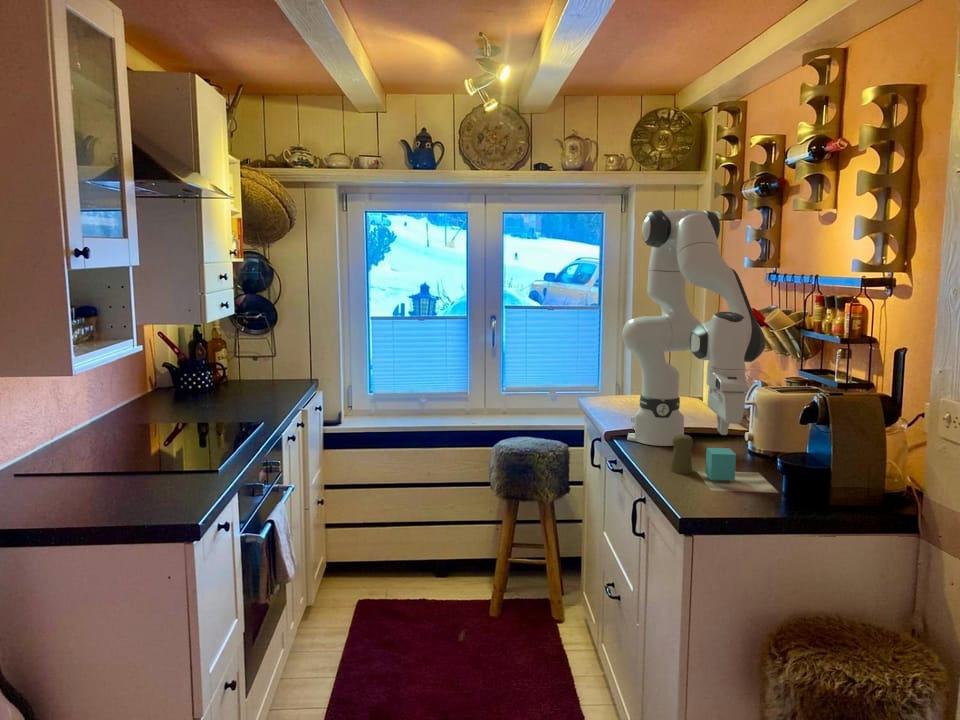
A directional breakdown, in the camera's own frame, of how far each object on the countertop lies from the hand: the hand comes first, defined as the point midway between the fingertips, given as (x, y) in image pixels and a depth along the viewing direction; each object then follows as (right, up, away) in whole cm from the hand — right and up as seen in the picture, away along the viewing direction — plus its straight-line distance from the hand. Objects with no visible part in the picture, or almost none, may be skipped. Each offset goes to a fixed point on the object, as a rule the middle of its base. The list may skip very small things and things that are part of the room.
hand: (722, 433), depth 181 cm
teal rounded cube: (0, -11, +2) cm, 11 cm away
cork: (-7, -12, +10) cm, 18 cm away
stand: (+4, -14, +2) cm, 14 cm away
